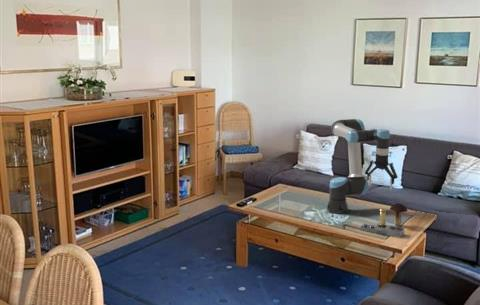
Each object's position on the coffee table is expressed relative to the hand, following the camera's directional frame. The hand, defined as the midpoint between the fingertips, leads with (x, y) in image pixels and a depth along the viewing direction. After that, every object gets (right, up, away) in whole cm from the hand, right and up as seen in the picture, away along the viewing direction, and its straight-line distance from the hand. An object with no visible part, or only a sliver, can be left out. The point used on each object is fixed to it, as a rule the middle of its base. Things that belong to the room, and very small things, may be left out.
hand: (380, 187), depth 312 cm
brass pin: (0, -28, -3) cm, 28 cm away
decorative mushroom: (+14, -26, +9) cm, 30 cm away
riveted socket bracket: (0, -28, -3) cm, 28 cm away
